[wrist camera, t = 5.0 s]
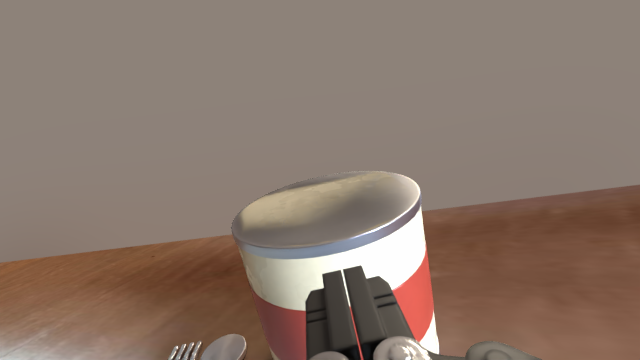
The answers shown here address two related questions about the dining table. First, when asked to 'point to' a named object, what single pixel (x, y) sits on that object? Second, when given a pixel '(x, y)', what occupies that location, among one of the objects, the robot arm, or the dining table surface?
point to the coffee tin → (334, 250)
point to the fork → (188, 352)
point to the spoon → (226, 348)
